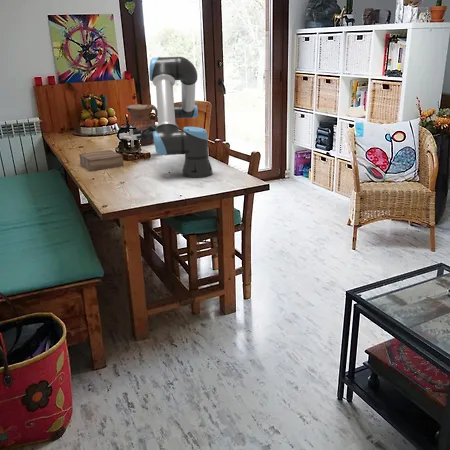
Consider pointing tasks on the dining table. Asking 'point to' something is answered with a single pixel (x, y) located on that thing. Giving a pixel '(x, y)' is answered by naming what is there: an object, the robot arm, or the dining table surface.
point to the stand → (101, 160)
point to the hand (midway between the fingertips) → (125, 137)
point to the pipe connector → (130, 137)
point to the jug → (142, 119)
